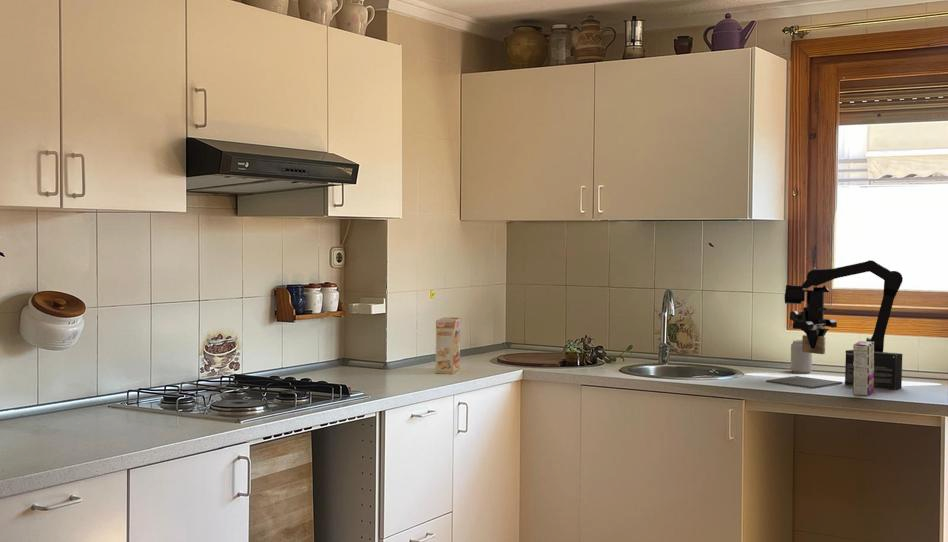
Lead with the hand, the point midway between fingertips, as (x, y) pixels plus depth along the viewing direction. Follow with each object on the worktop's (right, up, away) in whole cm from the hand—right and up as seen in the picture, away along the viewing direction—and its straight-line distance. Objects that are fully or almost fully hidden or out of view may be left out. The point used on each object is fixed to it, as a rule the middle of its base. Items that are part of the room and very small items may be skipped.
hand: (814, 348), depth 333 cm
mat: (-7, -11, -9) cm, 16 cm away
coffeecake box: (-131, -10, +14) cm, 132 cm away
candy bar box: (+5, -12, -30) cm, 33 cm away
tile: (0, -2, 0) cm, 2 cm away
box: (+14, -12, -16) cm, 24 cm away
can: (+2, -11, +18) cm, 21 cm away
